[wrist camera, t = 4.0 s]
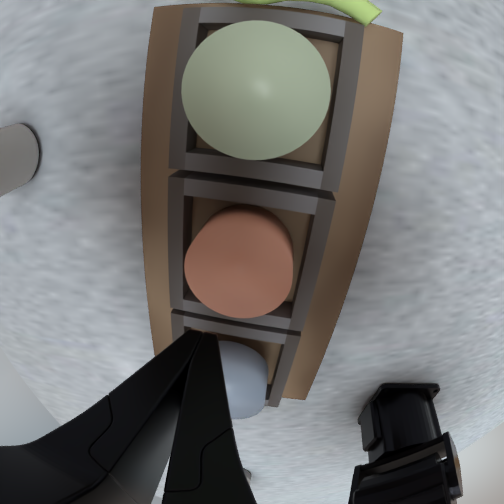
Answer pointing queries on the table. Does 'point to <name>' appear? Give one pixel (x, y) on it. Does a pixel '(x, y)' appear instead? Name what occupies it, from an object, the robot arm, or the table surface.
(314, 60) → the sage button
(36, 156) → the beverage can
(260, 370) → the blue-grey flat rounded piece
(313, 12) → the button panel
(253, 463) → the table surface
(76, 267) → the table surface
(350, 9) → the figurine
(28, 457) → the robot arm
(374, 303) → the table surface
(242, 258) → the terracotta button
